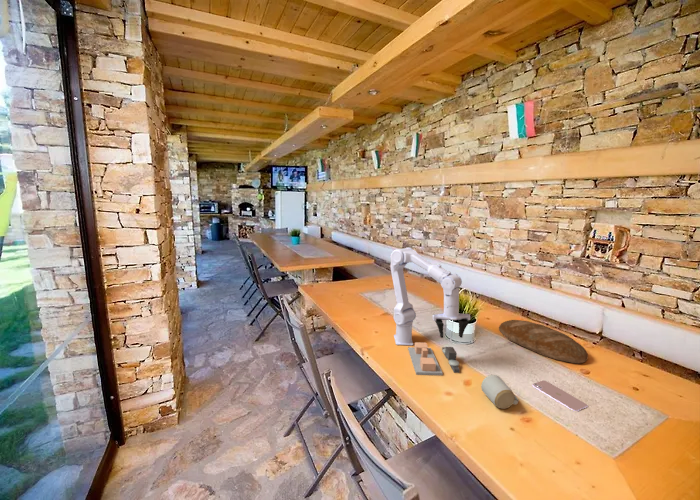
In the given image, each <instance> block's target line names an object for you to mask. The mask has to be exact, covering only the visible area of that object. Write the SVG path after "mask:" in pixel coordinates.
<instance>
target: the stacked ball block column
mask: <svg viewBox="0 0 700 500" xmlns="http://www.w3.org/2000/svg"><path fill="white" fill-rule="evenodd" d="M441 351H442V353H443V354H444V357H445V358H446V359H447V361H448V364H449V366H450V367H451V370H452V371H453V373H454V374H460V371H461V370H460V367H459V366H460V361H458V360H457V351H456V350H455V348H454V347H453V346H445V347H442V348H441Z"/></svg>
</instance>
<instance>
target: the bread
mask: <svg viewBox="0 0 700 500" xmlns="http://www.w3.org/2000/svg"><path fill="white" fill-rule="evenodd" d="M498 331H499V332H500V333H501V335H503V336H504V337H505V338H506V339H507V340H508V341H511V342H512V343H514V344H516V345H519V346H521V347H523V348H525V349H528V350H530V351H532V352H534V353H537V354H539V355H542V356H544V357H548V358H550V359H553V360H557V361H560V362H561V361H562V362H567V363H572V364H582V363H585V362H587V360H588V359H589V354H588V352H587V350H586V348H585V347H583V345H581V344H580V343H579V342H577V341H576V340H575V339H574V338H572V337H571V336H569V335H567V334H565V333H563V332H561V331H559V330H556V329H554V328H551V327H548V326H546V325H543V324H540V323H535V322H532V321H527V320H519V319H510V320H506V321H503V322H501V323H500V325H499V326H498Z"/></svg>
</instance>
